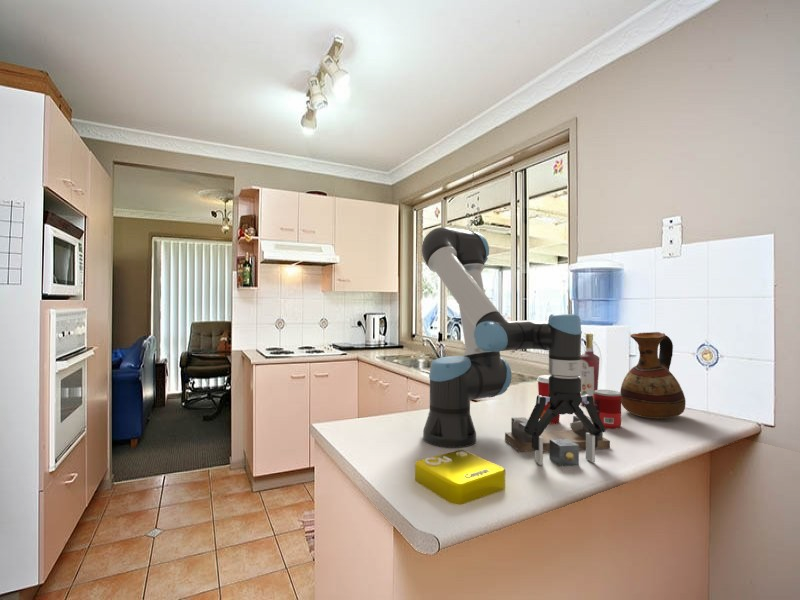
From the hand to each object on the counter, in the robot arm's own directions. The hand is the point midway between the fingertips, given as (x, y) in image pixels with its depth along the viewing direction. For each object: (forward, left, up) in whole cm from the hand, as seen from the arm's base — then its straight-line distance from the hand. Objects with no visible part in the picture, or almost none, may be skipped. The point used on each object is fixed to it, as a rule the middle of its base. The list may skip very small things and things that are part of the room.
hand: (564, 461), depth 102 cm
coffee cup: (+14, +34, 0) cm, 37 cm away
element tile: (-30, -9, -1) cm, 31 cm away
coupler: (0, 0, 0) cm, 0 cm away
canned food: (+31, +28, 0) cm, 42 cm away
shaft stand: (+5, +13, 0) cm, 14 cm away
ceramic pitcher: (+55, +38, 0) cm, 67 cm away
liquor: (+41, +54, 0) cm, 68 cm away
